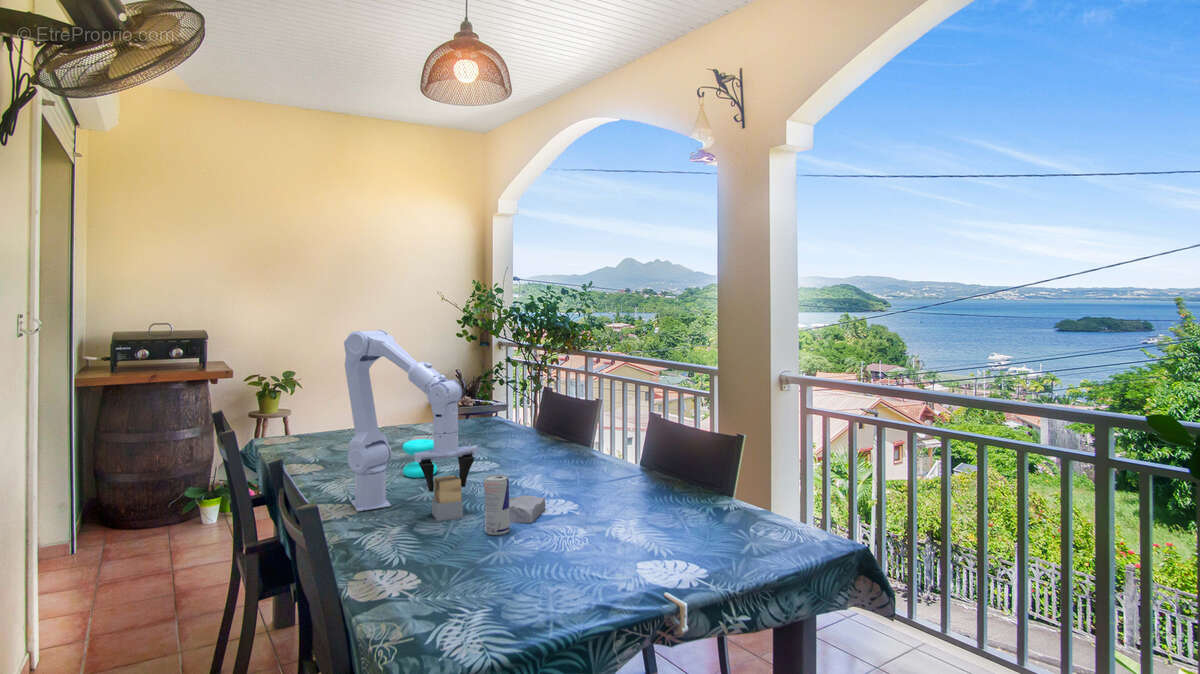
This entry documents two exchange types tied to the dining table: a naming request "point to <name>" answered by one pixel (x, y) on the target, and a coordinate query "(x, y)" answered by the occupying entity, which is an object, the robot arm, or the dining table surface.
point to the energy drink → (496, 504)
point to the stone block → (525, 509)
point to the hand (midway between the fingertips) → (446, 488)
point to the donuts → (415, 447)
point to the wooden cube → (447, 489)
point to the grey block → (447, 510)
